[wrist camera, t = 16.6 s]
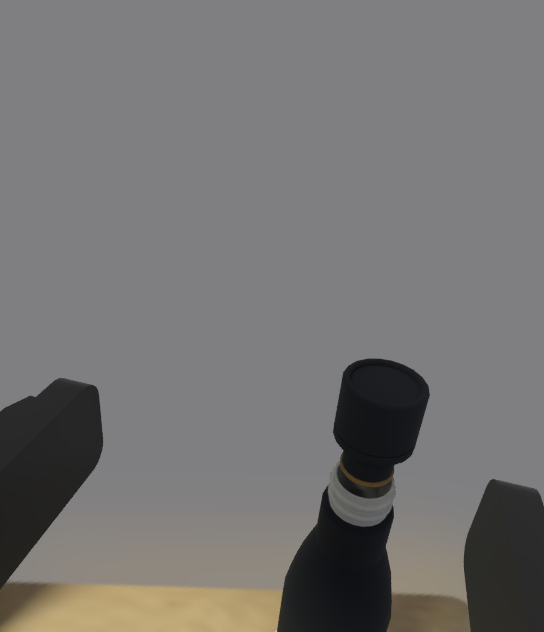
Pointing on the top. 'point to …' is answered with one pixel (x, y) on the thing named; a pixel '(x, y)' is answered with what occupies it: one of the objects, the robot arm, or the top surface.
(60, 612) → the top surface
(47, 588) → the top surface
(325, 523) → the black insulated water bottle
